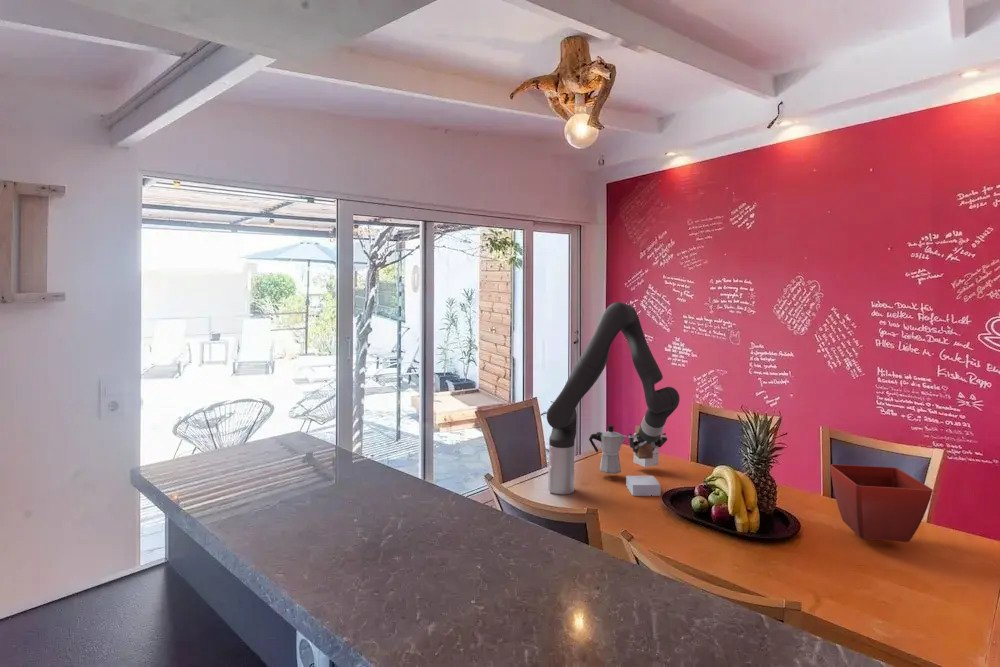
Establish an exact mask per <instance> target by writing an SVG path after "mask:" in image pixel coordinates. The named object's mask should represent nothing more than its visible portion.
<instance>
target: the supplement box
mask: <svg viewBox="0 0 1000 667" xmlns="http://www.w3.org/2000/svg"><path fill="white" fill-rule="evenodd" d="M633 435H636V432H634V434H633ZM634 441H635V440H634ZM655 442H656V441H655ZM659 451H660V447H658V446H657V447H656V448H655V449H654V451H653V459H639V458H638V457H637V456H636V455H635V453H634V452H633V463H634V464H637V465H640V466H642V467H643V468H651V467H655V466H659V456H660V454H659Z"/></svg>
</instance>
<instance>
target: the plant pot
mask: <svg viewBox="0 0 1000 667" xmlns="http://www.w3.org/2000/svg"><path fill="white" fill-rule="evenodd" d="M829 468H830V476H831V482H832V487H833V493H834V496H835V502H836V504H837V507H838V511H839V514H840V517H841V519H842V521H843V523H845V524H846V525H847V526H848V527H849V529H850V530H852V531H853V533H854V534H856V535H857V536H858V537H859V539H864V540H874V541H884V542H885V541H886V542H901V543H902V542H903V543H909V542H911V540H912V539H913V537H914V536H915V534H916V532H917V530H918V528H919V526H920V524H921V523H922V521H923V519H924V516H925V514H926V512H927V509H928V506H929V504H930V501H931V497H932V494H933V490H934V489H933V488H931V487H930V486H928V485H927V484H924V483H922V482H921V481H920V480H918V479H916V478H914V477H913V476H911V475H909V474H908V473H906V472H905V471H903V470H901V469H899V467H891V466H890V467H889V466H871V465H854V464H853V465H852V464H835V463H832V464H830V467H829Z"/></svg>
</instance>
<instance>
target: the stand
mask: <svg viewBox="0 0 1000 667" xmlns="http://www.w3.org/2000/svg"><path fill="white" fill-rule="evenodd" d="M625 477H626V478H625V479H626V480H625V482H626V484H625V486H627V487H626V488H627V489H629V490H628V491H629V493H631V496H633V497H655V496H656V497H657V496H658V497H660V496H661V492H662V491H661V487H662V485H661V483H659V481H658V480H657V478H655V476H654V475H626V476H625ZM651 495H652V496H651Z"/></svg>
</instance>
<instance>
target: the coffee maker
mask: <svg viewBox="0 0 1000 667" xmlns="http://www.w3.org/2000/svg"><path fill="white" fill-rule="evenodd" d="M614 427H615V426H614V425H613V424H610V425H609V424H608V425H607V431H602V432H601V431H597V432H596V433H592V434H590V436H589V438H588V441H589V442H590V444H591V446H592V447H593V449H594V450H595V452H596V453H598V452H599V449H598V447H597V445H596V444H595V443H594V441H593V440H596V441H598V442H600V447H601V451H602V453H601V459H600V464H599V470H600V472H601V473H605V474H613V475H616V474H619V473H622V466H621V460H620V454H619V452H620V451H621V447H622V446H621V445H622V444H623V443H624V442H625V439H626V438H627V437H628V436H627V435H623V434H622V433H619V432H618V431H617V432H616V431H614V429H615V428H614Z"/></svg>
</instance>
